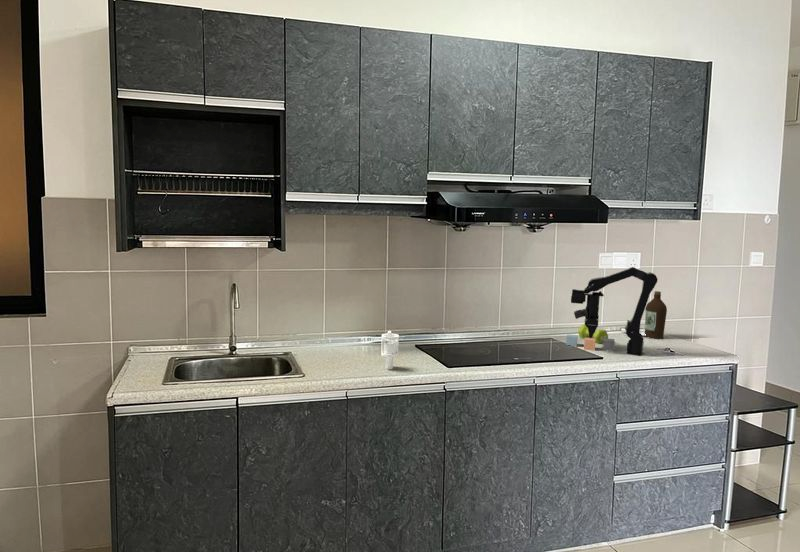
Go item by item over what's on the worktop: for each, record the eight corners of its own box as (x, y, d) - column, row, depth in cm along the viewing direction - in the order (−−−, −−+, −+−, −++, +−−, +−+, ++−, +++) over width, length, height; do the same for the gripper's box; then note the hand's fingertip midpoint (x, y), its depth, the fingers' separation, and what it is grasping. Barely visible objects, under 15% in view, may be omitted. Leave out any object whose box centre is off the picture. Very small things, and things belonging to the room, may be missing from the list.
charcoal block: (613, 349, 294) (614, 339, 293) (613, 351, 289) (614, 341, 288) (602, 348, 295) (603, 338, 295) (602, 350, 290) (603, 340, 290)
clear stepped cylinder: (396, 365, 251) (397, 330, 249) (398, 370, 244) (400, 334, 242) (379, 365, 250) (380, 330, 248) (381, 370, 243) (382, 334, 241)
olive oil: (652, 334, 331) (656, 289, 328) (668, 338, 321) (672, 292, 318) (638, 335, 326) (642, 290, 323) (654, 340, 316) (658, 293, 313)
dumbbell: (609, 344, 305) (610, 330, 304) (596, 344, 302) (597, 330, 301) (588, 336, 320) (589, 323, 319) (576, 337, 317) (577, 324, 316)
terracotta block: (594, 348, 293) (595, 338, 293) (594, 350, 289) (595, 340, 288) (584, 347, 295) (584, 337, 294) (583, 349, 290) (584, 339, 290)
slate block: (576, 344, 300) (577, 335, 300) (576, 347, 295) (577, 337, 295) (566, 343, 302) (567, 334, 301) (566, 345, 297) (566, 336, 296)
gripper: (576, 300, 300) (574, 330, 302) (574, 306, 283) (572, 338, 285) (599, 302, 297) (597, 333, 299) (599, 308, 279) (597, 340, 281)
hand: (590, 336), depth 291 cm, fingers open, 9 cm apart
